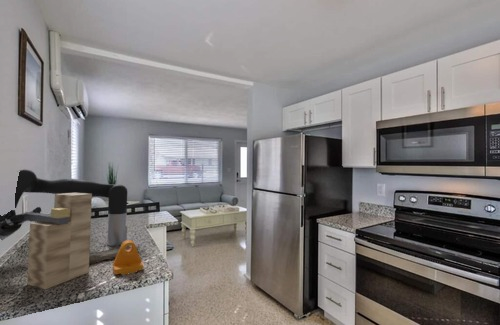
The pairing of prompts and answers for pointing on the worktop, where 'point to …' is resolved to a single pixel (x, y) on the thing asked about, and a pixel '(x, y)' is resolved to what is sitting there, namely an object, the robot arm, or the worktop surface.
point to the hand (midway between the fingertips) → (27, 210)
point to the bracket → (127, 259)
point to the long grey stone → (104, 255)
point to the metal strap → (50, 216)
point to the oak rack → (61, 244)
